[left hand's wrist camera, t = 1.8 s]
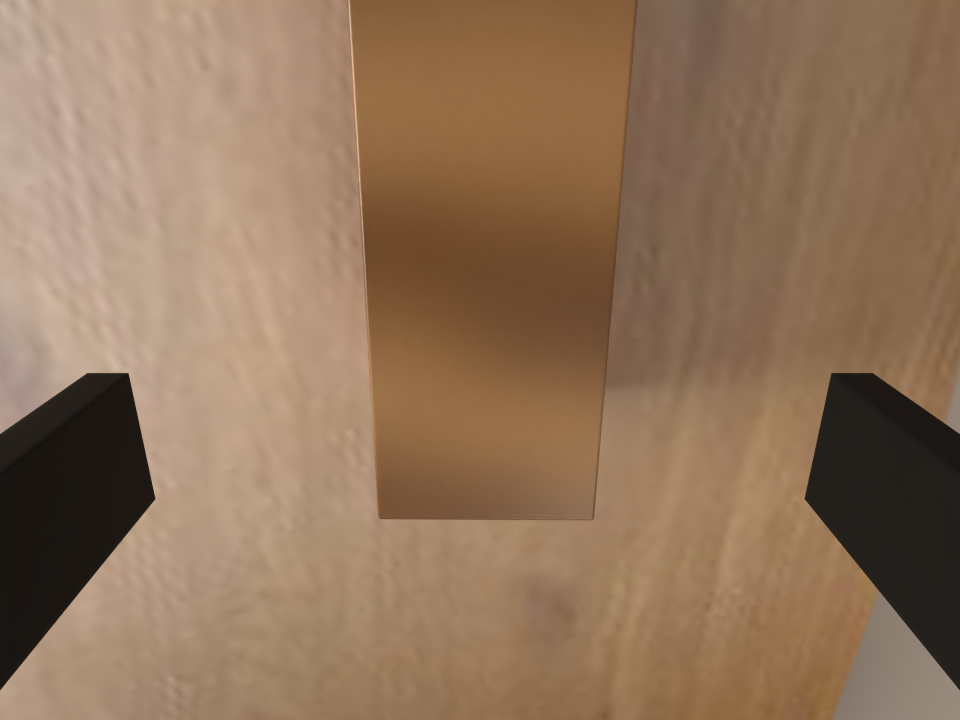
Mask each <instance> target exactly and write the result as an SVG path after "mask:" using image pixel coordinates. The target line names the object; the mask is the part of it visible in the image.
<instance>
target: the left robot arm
mask: <svg viewBox="0 0 960 720" xmlns="http://www.w3.org/2000/svg"><path fill="white" fill-rule="evenodd" d="M154 500H155V495H154V490H153V486H152V481H151V476H150V472H149V467H148V462H147V458H146V453H145V448H144V444H143V439H142V434H141V430H140V425H139V420H138V416H137V411H136V406H135V402H134V397H133V392H132V388H131V383H130V378H129V374H128V373H87V374H86V375H84V376H83V377H81V378H80V379H78V380H77V381H76V382H74V383H73V384H71V385H70V386H68V387H67V388H66V389H64V390H63V391H61V392H60V393H58V394H57V395H56V396H54V397H53V398H51V399H50V400H48V401H47V402H45V403H44V404H43V405H41V406H40V407H38V408H37V409H35V410H34V411H33V412H31V413H30V414H28V415H27V416H25V417H24V418H23V419H21V420H20V421H18V422H17V423H15V424H14V425H13V426H11V427H10V428H8V429H7V430H5V431H4V432H3V433H1V434H0V690H1V689H2V687H3V686H4V685H5V684H6V682H7V681H8V680H9V679H10V677H11V676H12V675H13V674H14V673H15V671H16V670H17V669H18V668H19V666H20V665H21V664H22V663H23V661H24V660H25V659H26V658H27V657H28V655H29V654H30V653H31V652H32V650H33V649H34V648H35V647H36V645H37V644H38V643H39V642H40V641H41V639H42V638H43V637H44V636H45V634H46V633H47V632H48V631H49V629H50V628H51V627H52V626H53V624H54V623H55V622H56V621H57V620H58V618H59V617H60V616H61V615H62V613H63V612H64V611H65V610H66V608H67V607H68V606H69V605H70V604H71V602H72V601H73V600H74V599H75V597H76V596H77V595H78V594H79V592H80V591H81V590H82V589H83V588H84V586H85V585H86V584H87V583H88V581H89V580H90V579H91V578H92V576H93V575H94V574H95V573H96V572H97V570H98V569H99V568H100V567H101V565H102V564H103V563H104V562H105V560H106V559H107V558H108V557H109V555H110V554H111V553H112V552H113V551H114V549H115V548H116V547H117V546H118V544H119V543H120V542H121V541H122V539H123V538H124V537H125V536H126V535H127V533H128V532H129V531H130V530H131V528H132V527H133V526H134V525H135V523H136V522H137V521H138V520H139V519H140V517H141V516H142V515H143V514H144V512H145V511H146V510H147V509H148V507H149V506H150V505H151V504H152V502H153V501H154ZM805 500H806V501H807V502H808V504H809V505H810V506H811V507H812V509H813V510H814V511H815V512H816V514H817V515H818V516H819V517H820V519H821V520H822V521H823V522H824V523H825V525H826V526H827V527H828V528H829V530H830V531H831V532H832V533H833V535H834V536H835V537H836V538H837V539H838V541H839V542H840V543H841V544H842V546H843V547H844V548H845V549H846V551H847V552H848V553H849V554H850V555H851V557H852V558H853V559H854V560H855V562H856V563H857V564H858V565H859V567H860V568H861V569H862V570H863V572H864V573H865V574H866V575H867V576H868V578H869V579H870V580H871V581H872V583H873V584H874V585H875V586H876V588H877V589H878V590H879V591H880V592H881V594H882V595H883V596H884V597H885V599H886V600H887V601H888V602H889V604H890V605H891V606H892V607H893V608H894V610H895V611H896V612H897V613H898V615H899V616H900V617H901V618H902V620H903V621H904V622H905V623H906V624H907V626H908V627H909V628H910V629H911V631H912V632H913V633H914V634H915V635H916V637H917V638H918V639H919V641H920V642H921V643H922V644H923V645H924V647H925V648H926V649H927V650H928V652H929V653H930V654H931V655H932V657H933V658H934V659H935V660H936V661H937V663H938V664H939V665H940V666H941V668H942V669H943V670H944V671H945V673H946V674H947V675H948V676H949V677H950V679H951V680H952V681H953V682H954V684H955V685H956V686H957V687H958V689H959V690H960V434H959V433H957V432H956V431H954V430H953V429H952V428H950V427H949V426H947V425H946V424H945V423H943V422H942V421H940V420H939V419H937V418H936V417H935V416H933V415H932V414H930V413H929V412H927V411H926V410H925V409H923V408H922V407H920V406H919V405H917V404H916V403H914V402H913V401H912V400H910V399H909V398H907V397H906V396H904V395H903V394H902V393H900V392H899V391H897V390H896V389H894V388H893V387H892V386H890V385H889V384H887V383H886V382H884V381H883V380H882V379H880V378H879V377H877V376H876V375H874V374H873V373H832V374H831V378H830V383H829V388H828V392H827V397H826V402H825V406H824V411H823V416H822V420H821V425H820V430H819V434H818V439H817V444H816V448H815V453H814V458H813V462H812V467H811V472H810V476H809V481H808V486H807V490H806V495H805Z"/></svg>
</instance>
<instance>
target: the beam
mask: <svg viewBox="0 0 960 720" xmlns="http://www.w3.org/2000/svg"><path fill="white" fill-rule="evenodd" d="M636 12H637V0H348V17H349V34H350V51H351V67H352V84H353V101H354V118H355V134H356V151H357V168H358V185H359V202H360V218H361V235H362V252H363V269H364V285H365V302H366V319H367V336H368V353H369V369H370V386H371V403H372V420H373V436H374V453H375V470H376V487H377V503H378V516H379V519H462V520H593V518H594V511H595V499H596V487H597V476H598V464H599V452H600V440H601V428H602V416H603V404H604V392H605V380H606V369H607V357H608V345H609V333H610V321H611V309H612V297H613V285H614V273H615V261H616V250H617V238H618V226H619V214H620V202H621V190H622V178H623V166H624V154H625V142H626V131H627V119H628V107H629V95H630V83H631V71H632V59H633V47H634V35H635V23H636Z"/></svg>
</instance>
